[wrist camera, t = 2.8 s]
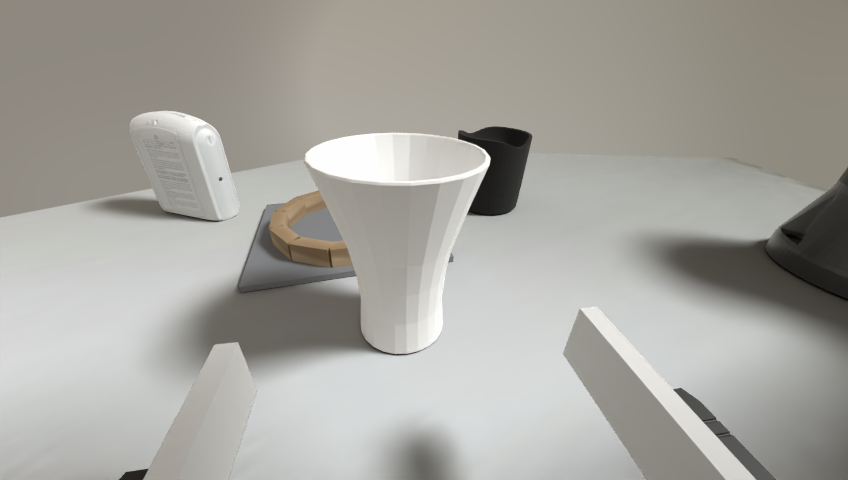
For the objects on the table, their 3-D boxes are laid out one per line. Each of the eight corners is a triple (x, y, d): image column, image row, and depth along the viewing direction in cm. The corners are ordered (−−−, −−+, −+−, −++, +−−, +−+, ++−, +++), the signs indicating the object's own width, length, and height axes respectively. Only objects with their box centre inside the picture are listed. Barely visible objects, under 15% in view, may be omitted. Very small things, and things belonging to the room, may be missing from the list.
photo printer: (247, 210, 42) (219, 112, 35) (221, 224, 38) (184, 117, 32) (187, 200, 44) (150, 106, 38) (157, 213, 40) (110, 111, 34)
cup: (327, 390, 20) (283, 187, 13) (338, 286, 28) (316, 133, 22) (486, 369, 21) (523, 179, 14) (450, 276, 30) (462, 131, 23)
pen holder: (455, 189, 50) (460, 124, 45) (514, 193, 49) (526, 127, 44) (451, 214, 42) (456, 138, 37) (522, 220, 41) (538, 143, 36)
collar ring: (399, 196, 46) (399, 183, 45) (432, 253, 32) (432, 237, 31) (282, 206, 42) (278, 192, 40) (264, 277, 28) (259, 259, 27)
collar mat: (410, 196, 47) (410, 192, 47) (452, 261, 32) (453, 256, 32) (267, 208, 42) (266, 204, 42) (240, 292, 27) (238, 287, 27)
